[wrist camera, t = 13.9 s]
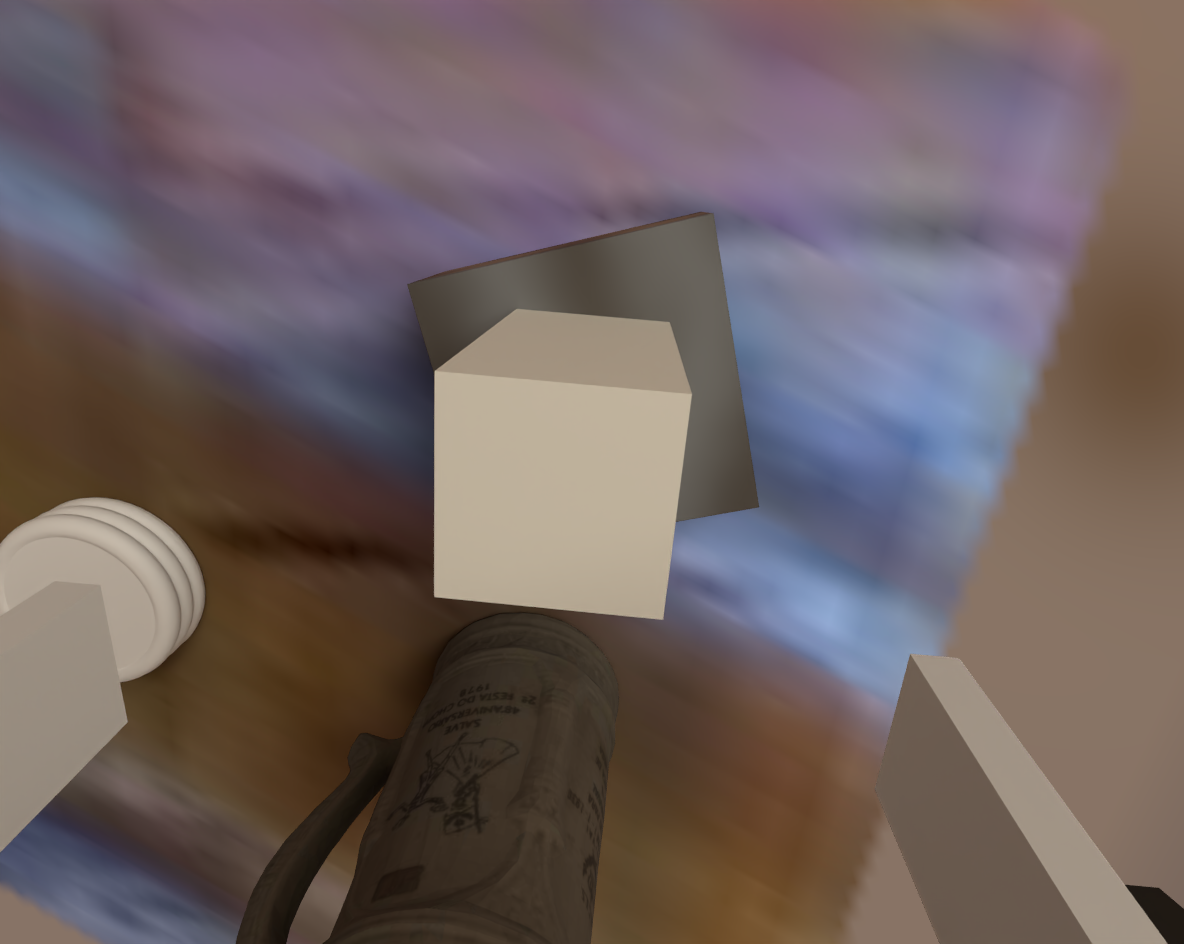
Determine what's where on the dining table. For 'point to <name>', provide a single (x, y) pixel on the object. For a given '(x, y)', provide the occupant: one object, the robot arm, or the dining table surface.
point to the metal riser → (624, 290)
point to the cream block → (560, 464)
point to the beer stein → (470, 802)
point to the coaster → (111, 574)
